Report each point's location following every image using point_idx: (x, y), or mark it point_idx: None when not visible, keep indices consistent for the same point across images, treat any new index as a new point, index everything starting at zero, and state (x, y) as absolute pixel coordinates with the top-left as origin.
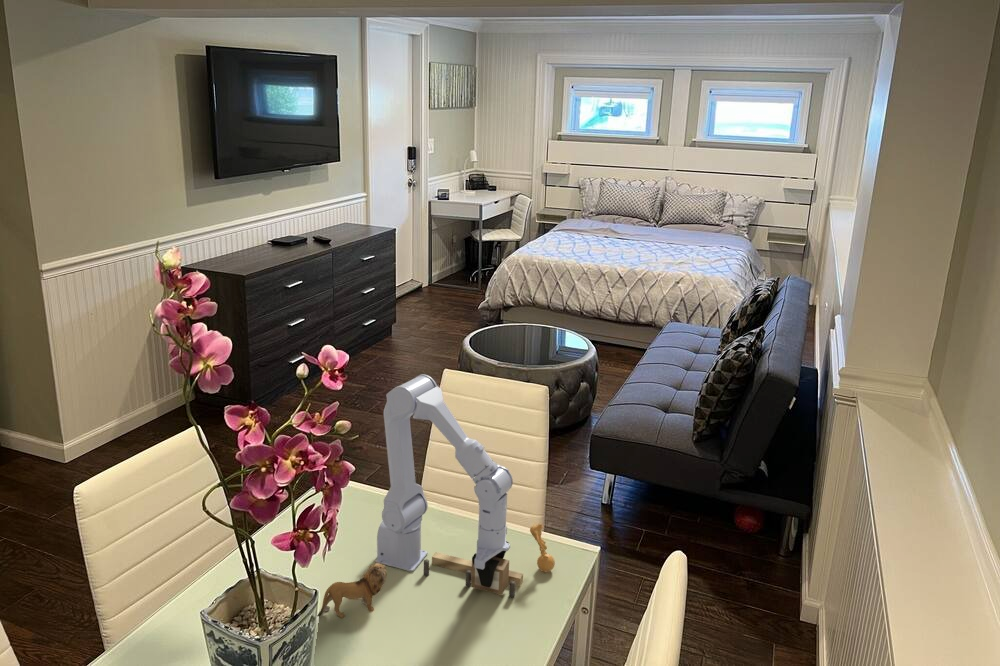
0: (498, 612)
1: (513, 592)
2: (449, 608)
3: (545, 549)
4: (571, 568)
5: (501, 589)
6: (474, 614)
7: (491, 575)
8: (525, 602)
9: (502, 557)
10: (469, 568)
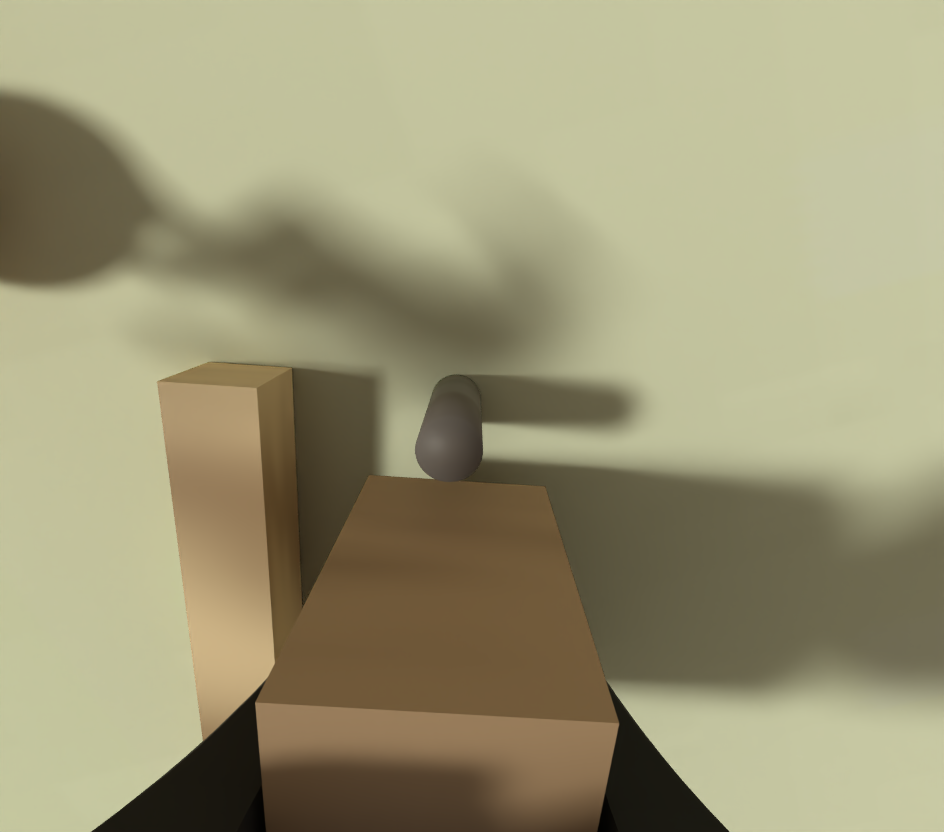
0: (688, 446)
1: (474, 397)
2: (711, 744)
3: None
4: None
5: (552, 521)
6: (746, 596)
7: (682, 786)
8: (494, 260)
9: (245, 822)
10: None
